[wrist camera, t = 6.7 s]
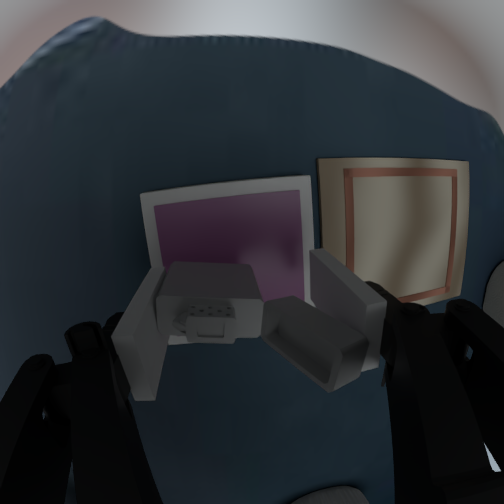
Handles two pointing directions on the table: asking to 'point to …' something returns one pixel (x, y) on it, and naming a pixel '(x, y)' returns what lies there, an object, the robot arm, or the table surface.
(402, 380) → the robot arm
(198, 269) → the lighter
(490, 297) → the paper towel roll
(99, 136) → the table surface
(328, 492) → the ramekin
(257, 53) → the table surface
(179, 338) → the ink pad
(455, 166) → the marked board
